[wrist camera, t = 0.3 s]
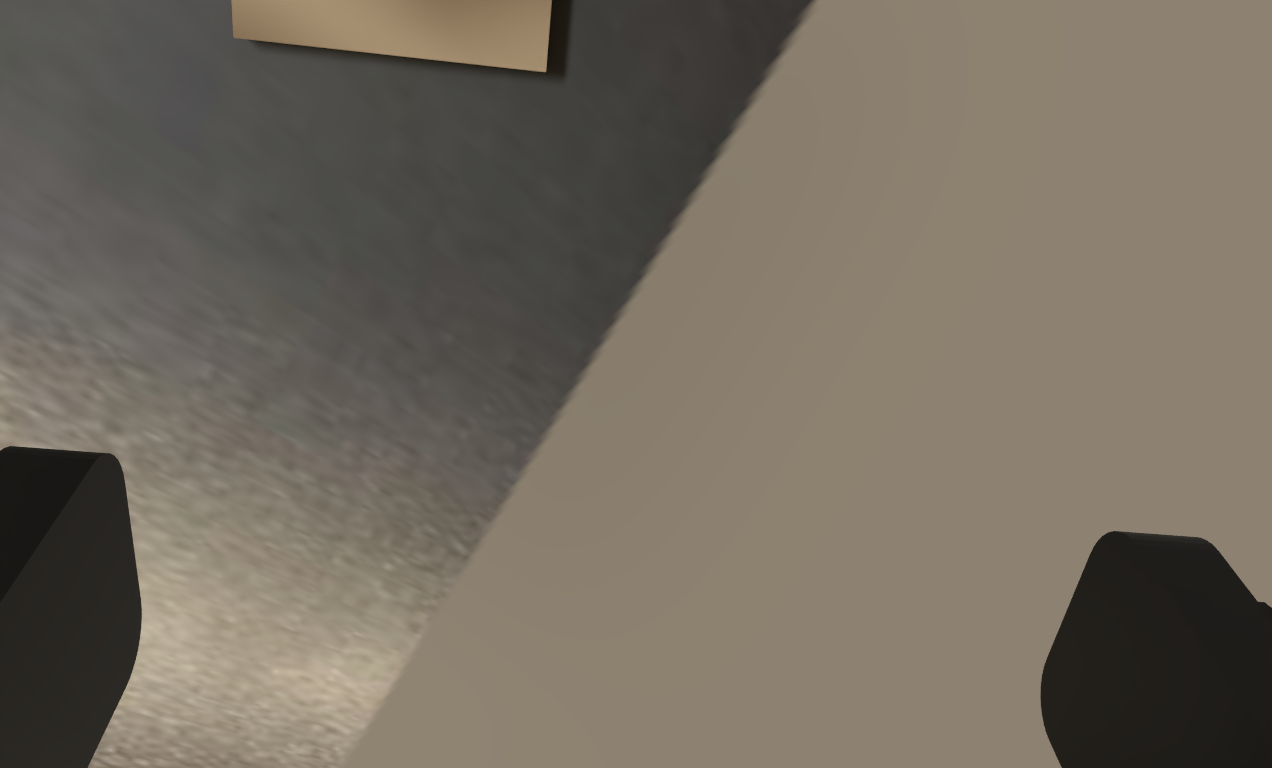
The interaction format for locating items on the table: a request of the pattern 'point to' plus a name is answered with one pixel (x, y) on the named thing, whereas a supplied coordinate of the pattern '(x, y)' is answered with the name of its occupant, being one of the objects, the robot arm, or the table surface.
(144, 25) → the table surface
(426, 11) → the oak coaster
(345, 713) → the table surface
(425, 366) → the table surface
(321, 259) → the table surface
